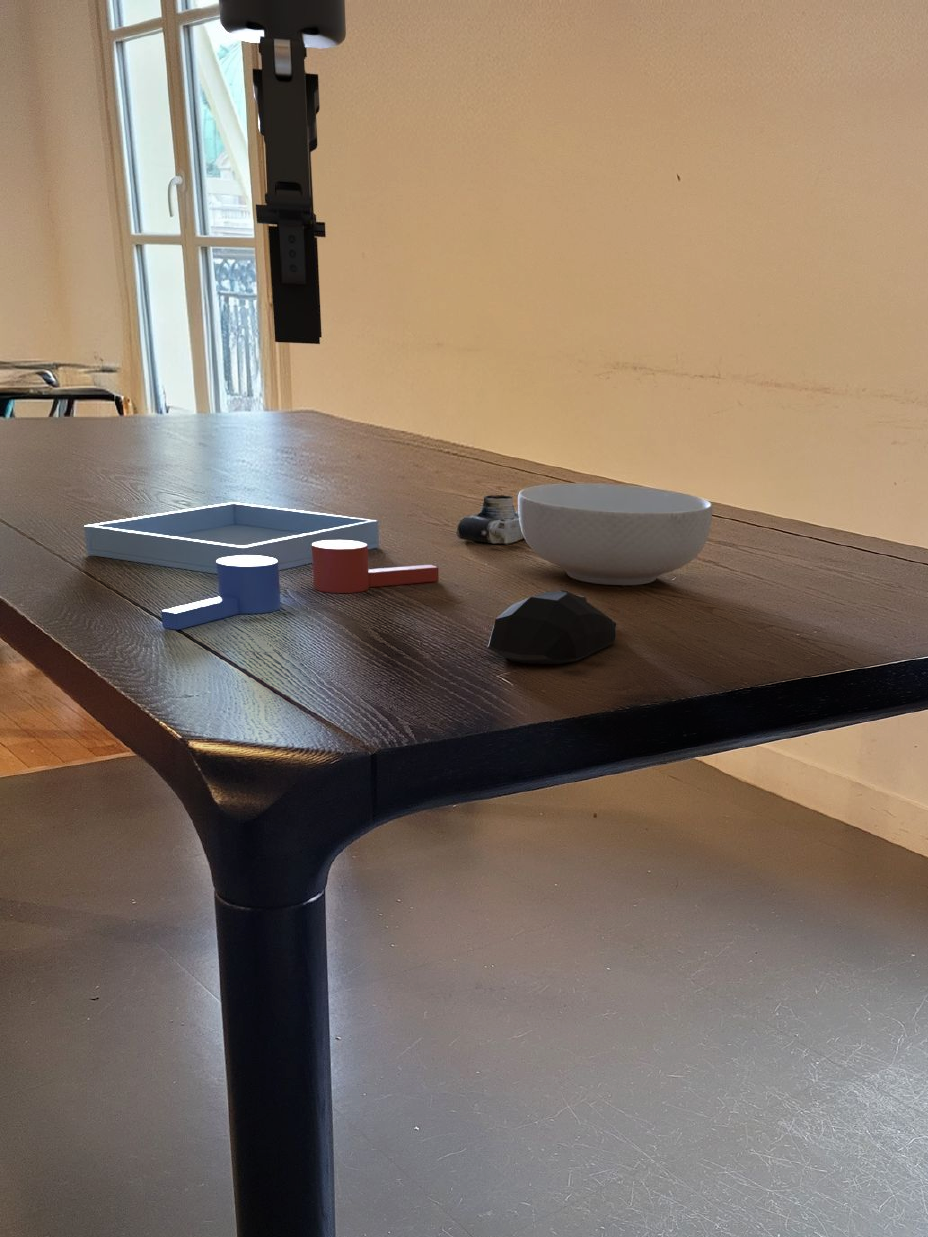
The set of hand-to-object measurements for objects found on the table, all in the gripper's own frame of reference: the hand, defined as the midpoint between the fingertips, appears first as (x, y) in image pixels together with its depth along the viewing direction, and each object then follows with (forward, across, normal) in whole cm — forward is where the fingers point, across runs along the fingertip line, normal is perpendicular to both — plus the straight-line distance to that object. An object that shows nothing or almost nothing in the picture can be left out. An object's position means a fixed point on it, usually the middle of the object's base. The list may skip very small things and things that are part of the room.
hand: (300, 340), depth 87 cm
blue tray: (+19, +28, +7) cm, 35 cm away
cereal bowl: (+19, +17, -26) cm, 36 cm away
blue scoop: (+19, +2, +7) cm, 20 cm away
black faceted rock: (+19, -8, -17) cm, 27 cm away
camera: (+19, +37, -18) cm, 46 cm away
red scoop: (+19, +13, -5) cm, 24 cm away
